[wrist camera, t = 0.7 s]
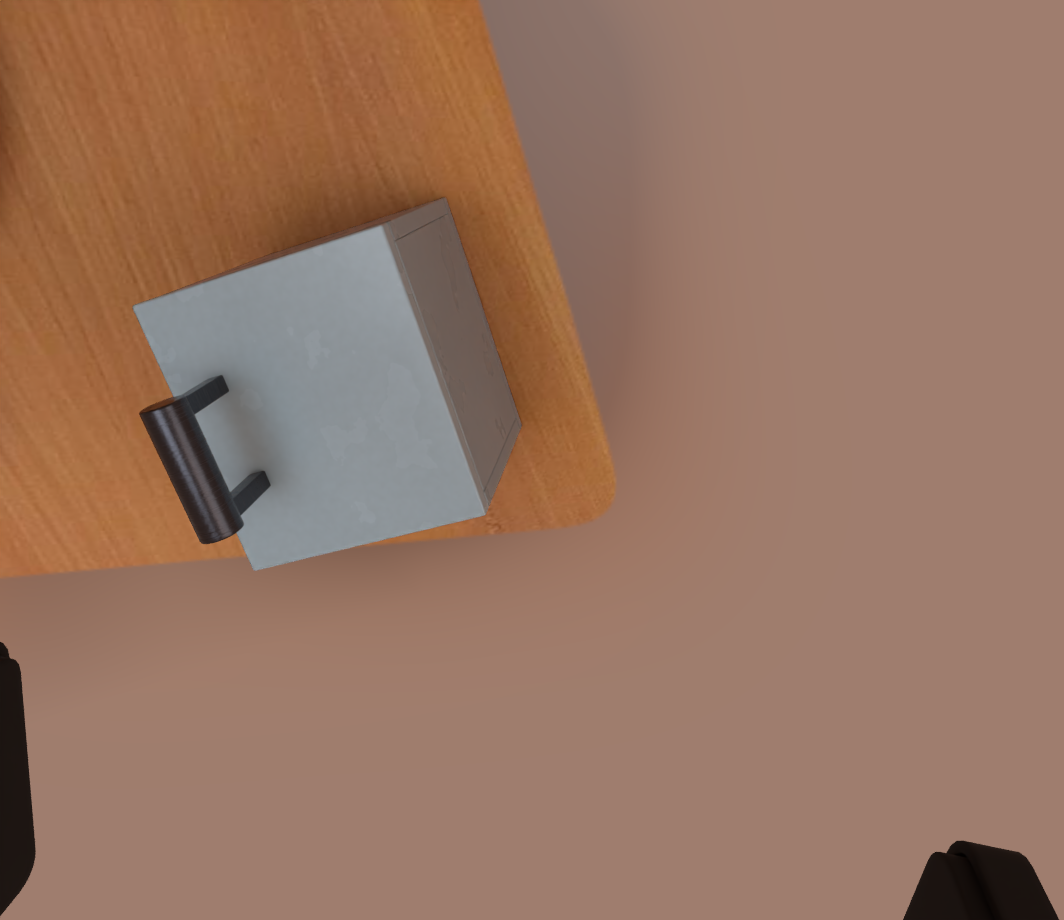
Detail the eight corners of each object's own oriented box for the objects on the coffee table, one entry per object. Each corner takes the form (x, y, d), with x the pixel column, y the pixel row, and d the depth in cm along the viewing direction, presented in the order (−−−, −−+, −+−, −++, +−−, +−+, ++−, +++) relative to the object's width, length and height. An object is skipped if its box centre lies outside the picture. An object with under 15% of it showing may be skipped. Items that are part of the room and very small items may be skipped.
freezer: (350, 470, 46) (278, 558, 37) (263, 256, 43) (160, 295, 34) (522, 425, 44) (489, 506, 35) (446, 196, 41) (388, 221, 32)
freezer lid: (261, 562, 37) (201, 632, 32) (141, 301, 34) (53, 335, 29) (489, 507, 35) (462, 573, 30) (387, 221, 32) (338, 242, 27)
